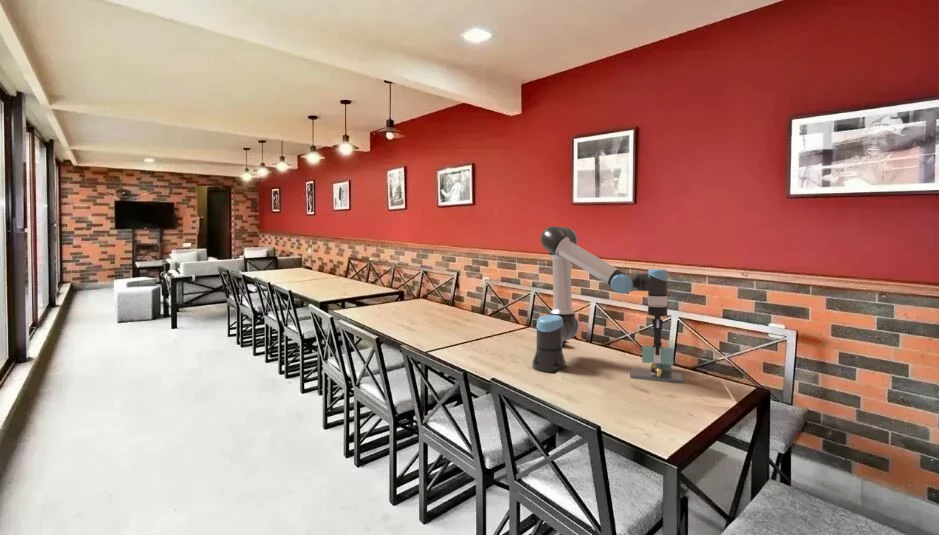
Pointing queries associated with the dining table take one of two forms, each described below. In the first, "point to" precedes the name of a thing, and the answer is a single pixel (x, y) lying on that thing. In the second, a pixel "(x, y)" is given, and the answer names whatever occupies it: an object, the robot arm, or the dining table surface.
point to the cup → (663, 365)
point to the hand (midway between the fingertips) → (657, 361)
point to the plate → (656, 375)
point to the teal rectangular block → (665, 355)
